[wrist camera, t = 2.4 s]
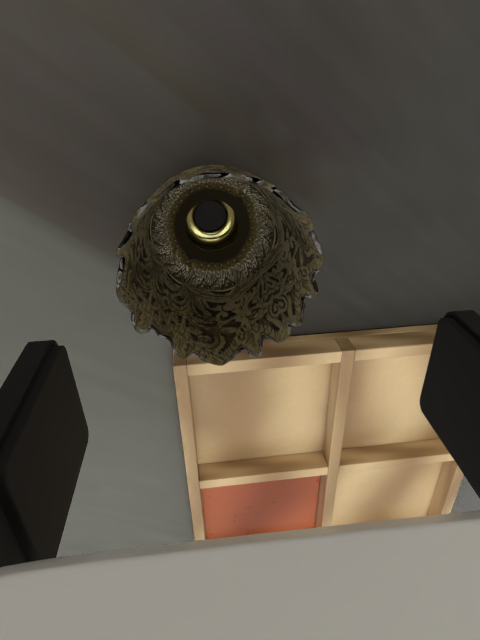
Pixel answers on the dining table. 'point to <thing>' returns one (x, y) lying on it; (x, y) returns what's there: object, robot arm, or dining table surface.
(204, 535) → the divided tray
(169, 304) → the dark bronze bell shape
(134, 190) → the dining table surface
